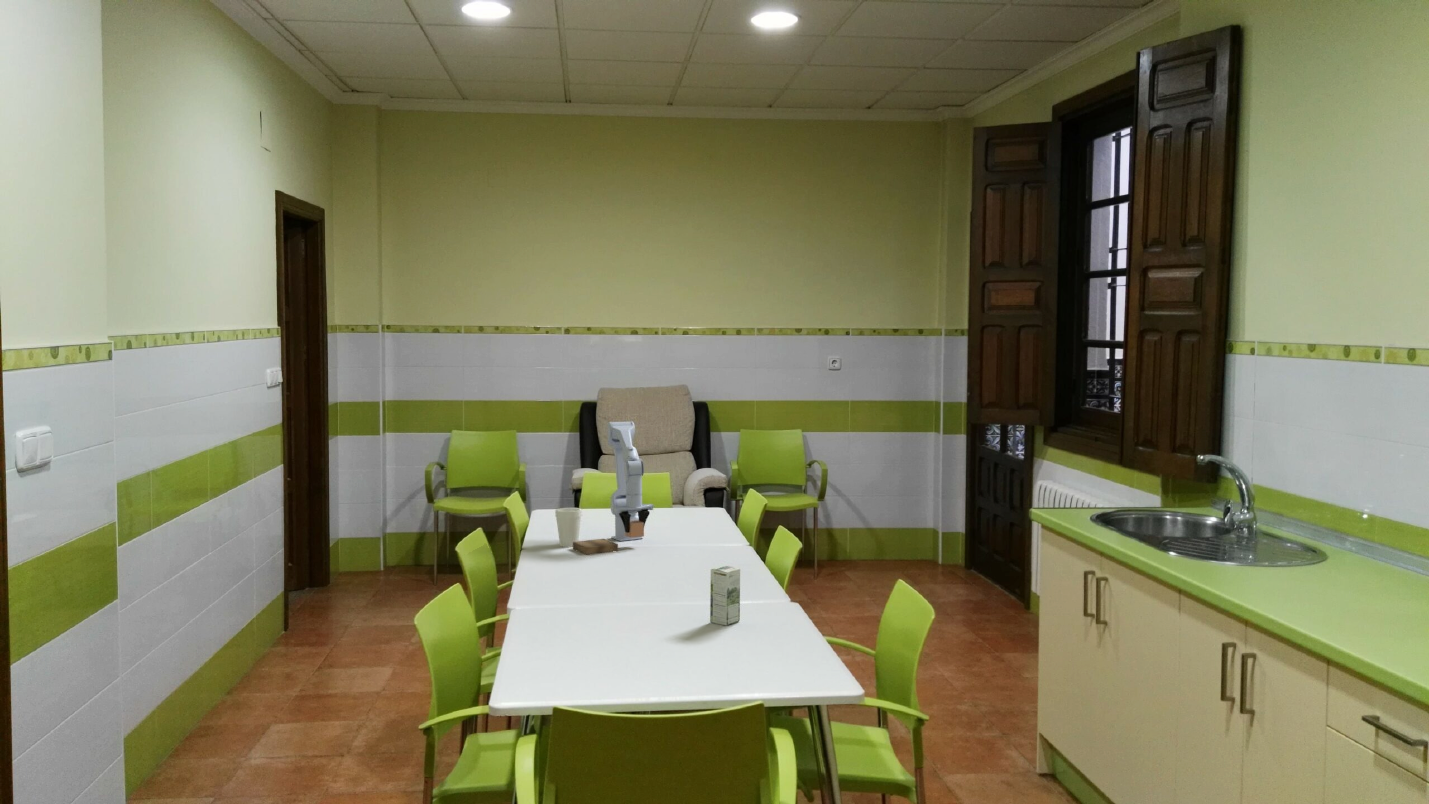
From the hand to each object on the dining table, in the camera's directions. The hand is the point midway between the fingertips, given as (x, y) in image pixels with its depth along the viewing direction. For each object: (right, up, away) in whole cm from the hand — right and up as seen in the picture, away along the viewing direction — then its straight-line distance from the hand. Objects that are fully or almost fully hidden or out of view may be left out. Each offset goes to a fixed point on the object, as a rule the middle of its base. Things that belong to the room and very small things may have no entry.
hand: (634, 531), depth 379 cm
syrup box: (+32, -12, -99) cm, 105 cm away
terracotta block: (0, -2, 0) cm, 2 cm away
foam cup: (-24, -6, +5) cm, 25 cm away
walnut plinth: (-14, -7, -4) cm, 16 cm away
